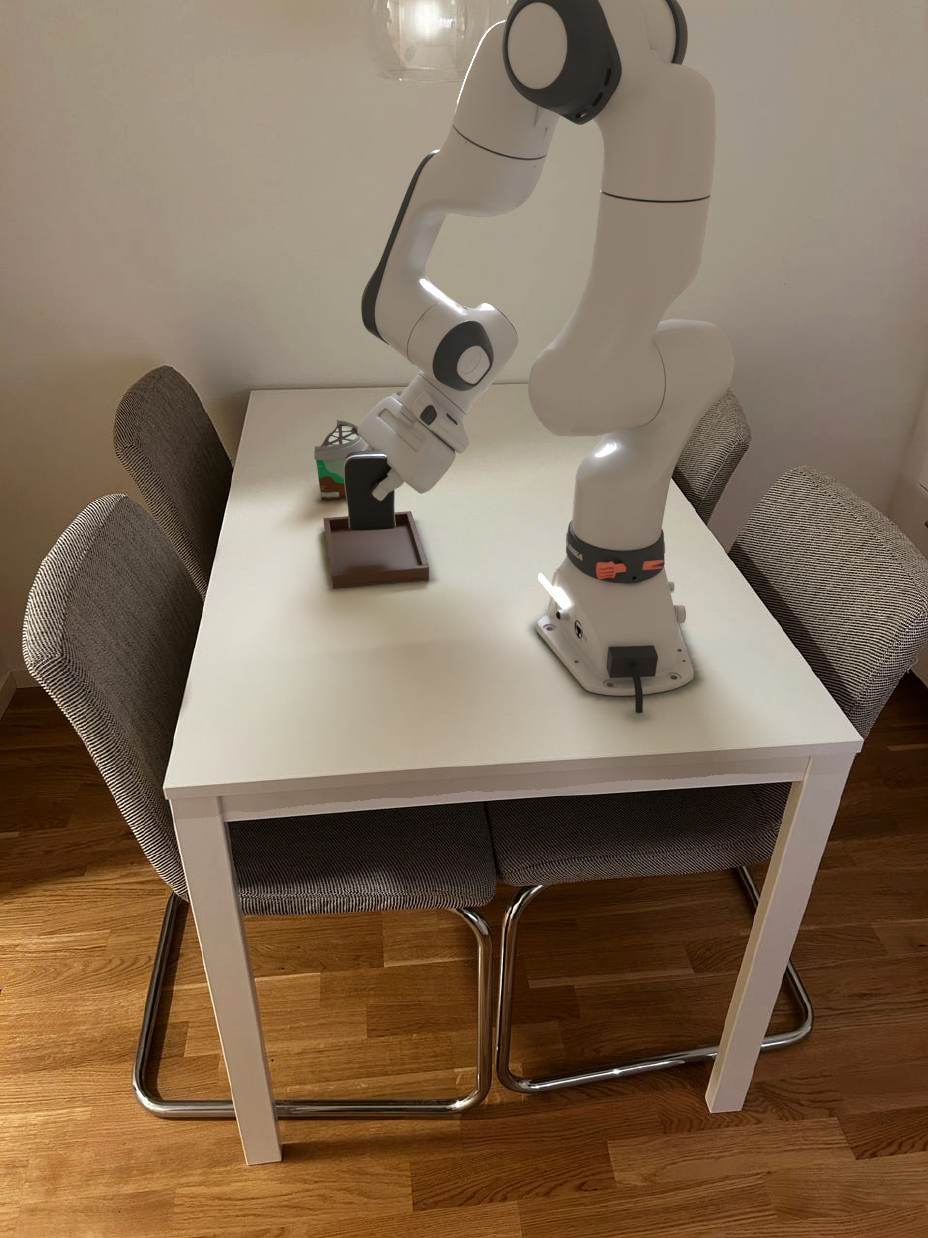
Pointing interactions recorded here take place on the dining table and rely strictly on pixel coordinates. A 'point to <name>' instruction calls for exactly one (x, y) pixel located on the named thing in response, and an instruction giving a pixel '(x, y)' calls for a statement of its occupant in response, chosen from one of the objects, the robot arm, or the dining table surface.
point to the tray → (375, 553)
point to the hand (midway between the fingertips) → (366, 487)
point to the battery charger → (367, 491)
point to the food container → (336, 459)
